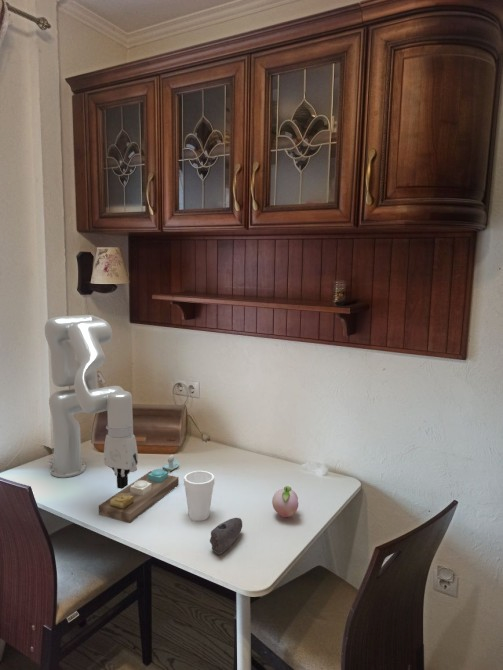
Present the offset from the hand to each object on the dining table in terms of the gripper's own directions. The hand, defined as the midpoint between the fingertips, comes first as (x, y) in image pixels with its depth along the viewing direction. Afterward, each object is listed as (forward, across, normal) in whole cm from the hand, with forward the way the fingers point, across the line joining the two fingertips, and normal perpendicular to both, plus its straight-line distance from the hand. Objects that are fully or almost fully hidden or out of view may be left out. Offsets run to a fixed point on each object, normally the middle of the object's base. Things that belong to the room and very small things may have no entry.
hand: (122, 486), depth 151 cm
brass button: (+7, -1, 0) cm, 7 cm away
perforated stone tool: (+10, +37, -1) cm, 39 cm away
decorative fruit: (+10, +47, +20) cm, 52 cm away
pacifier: (+9, -5, +34) cm, 36 cm away
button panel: (+9, -1, +10) cm, 14 cm away
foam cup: (+10, +22, +9) cm, 26 cm away
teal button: (+7, -1, +20) cm, 21 cm away
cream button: (+7, -1, +10) cm, 12 cm away
